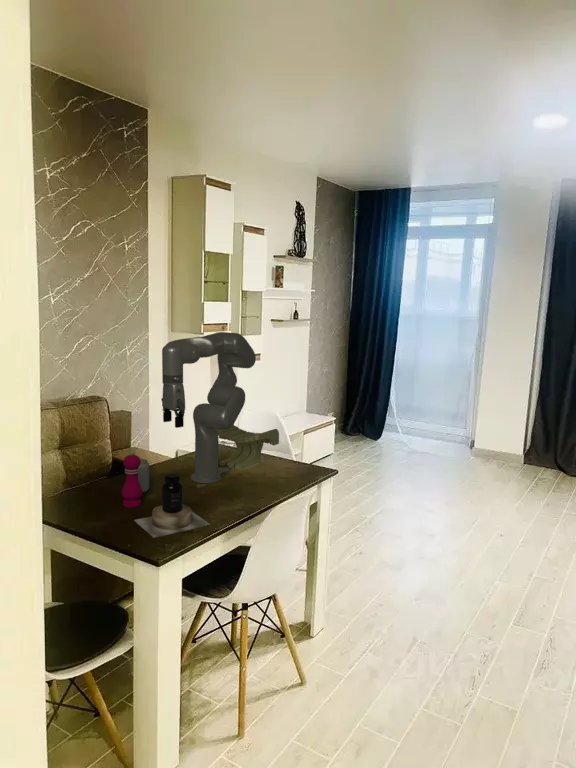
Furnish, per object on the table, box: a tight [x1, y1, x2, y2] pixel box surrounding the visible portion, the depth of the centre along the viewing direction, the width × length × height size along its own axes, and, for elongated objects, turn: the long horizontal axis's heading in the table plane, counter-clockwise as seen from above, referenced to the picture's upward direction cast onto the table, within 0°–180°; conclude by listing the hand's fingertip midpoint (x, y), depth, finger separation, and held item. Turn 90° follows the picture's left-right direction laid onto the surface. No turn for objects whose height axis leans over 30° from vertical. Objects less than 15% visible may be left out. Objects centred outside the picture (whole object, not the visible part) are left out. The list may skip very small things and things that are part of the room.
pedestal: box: [134, 504, 211, 539], centre depth 201 cm, size 20×16×5 cm
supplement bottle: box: [161, 472, 184, 513], centre depth 200 cm, size 7×7×12 cm
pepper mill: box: [121, 450, 143, 508], centre depth 215 cm, size 7×7×20 cm
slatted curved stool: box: [216, 424, 280, 470], centre depth 271 cm, size 30×16×18 cm, turn 57°
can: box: [138, 458, 150, 494], centre depth 231 cm, size 8×8×12 cm
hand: (173, 424), depth 224 cm, fingers open, 9 cm apart
